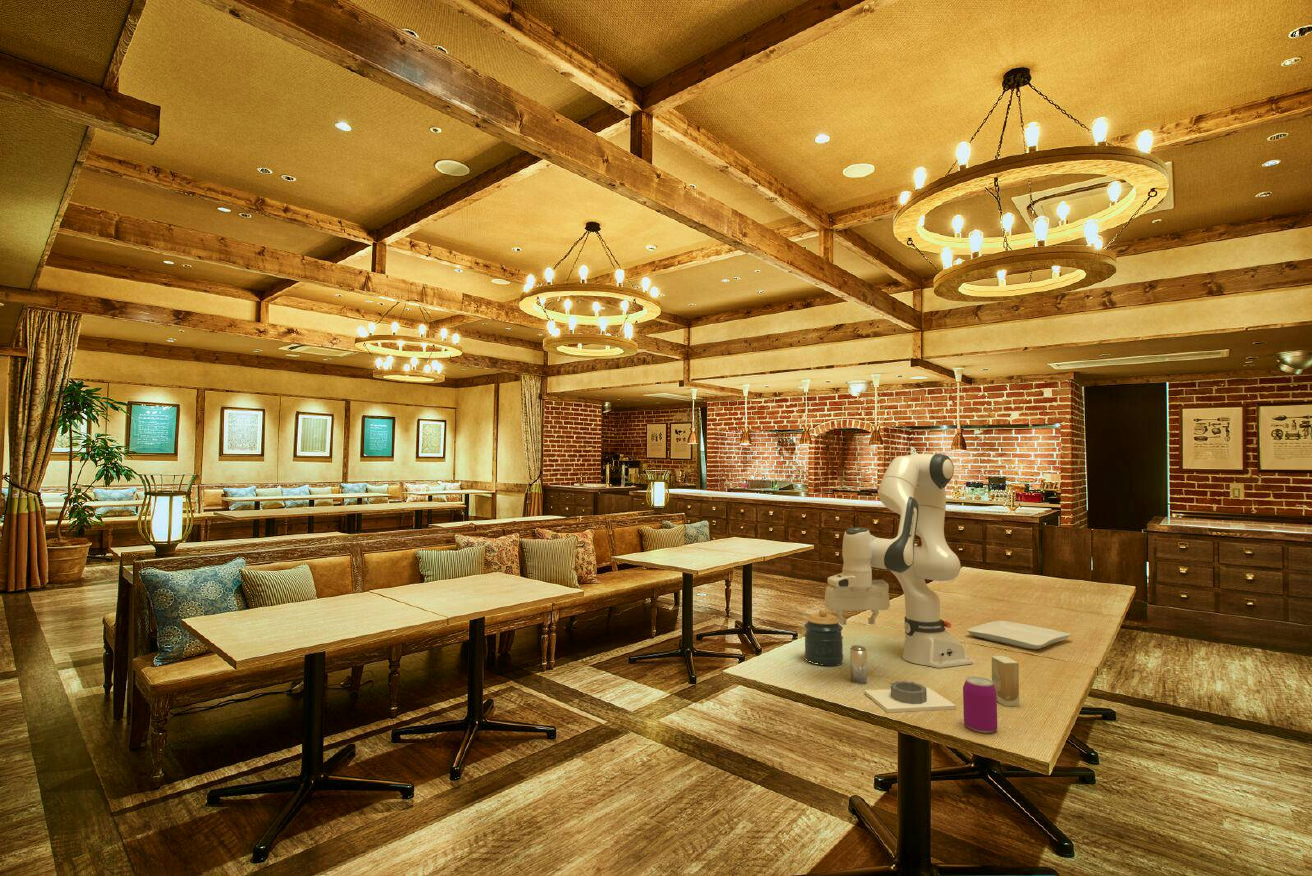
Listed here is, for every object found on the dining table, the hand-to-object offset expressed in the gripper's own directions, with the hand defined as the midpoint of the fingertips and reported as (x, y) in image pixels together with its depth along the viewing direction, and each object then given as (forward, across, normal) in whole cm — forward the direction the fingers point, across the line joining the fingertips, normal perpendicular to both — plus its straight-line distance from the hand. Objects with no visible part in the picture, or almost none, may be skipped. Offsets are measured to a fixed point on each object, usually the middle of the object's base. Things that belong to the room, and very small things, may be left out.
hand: (857, 624), depth 191 cm
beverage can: (+18, -17, +36) cm, 43 cm away
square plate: (+17, -83, -37) cm, 92 cm away
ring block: (+18, -8, +17) cm, 26 cm away
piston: (+18, -1, 0) cm, 18 cm away
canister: (+18, +2, -21) cm, 28 cm away
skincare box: (+18, -35, +21) cm, 44 cm away
